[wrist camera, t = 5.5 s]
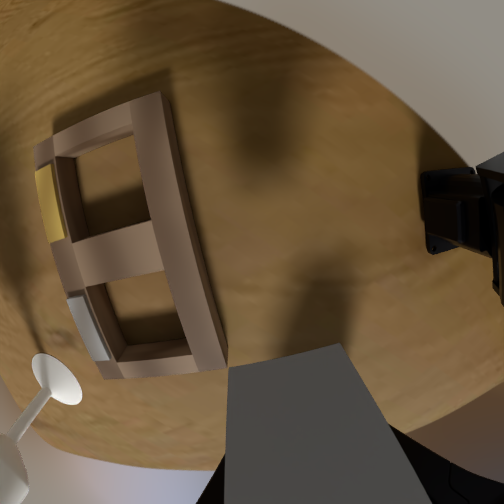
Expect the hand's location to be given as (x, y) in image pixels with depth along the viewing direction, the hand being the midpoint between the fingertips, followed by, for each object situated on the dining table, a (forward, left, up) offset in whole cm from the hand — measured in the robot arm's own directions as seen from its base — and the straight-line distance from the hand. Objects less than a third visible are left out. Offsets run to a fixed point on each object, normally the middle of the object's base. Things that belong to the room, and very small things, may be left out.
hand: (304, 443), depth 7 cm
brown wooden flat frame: (+9, -6, -12) cm, 16 cm away
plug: (0, 0, -2) cm, 2 cm away
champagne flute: (+23, +5, -13) cm, 27 cm away
